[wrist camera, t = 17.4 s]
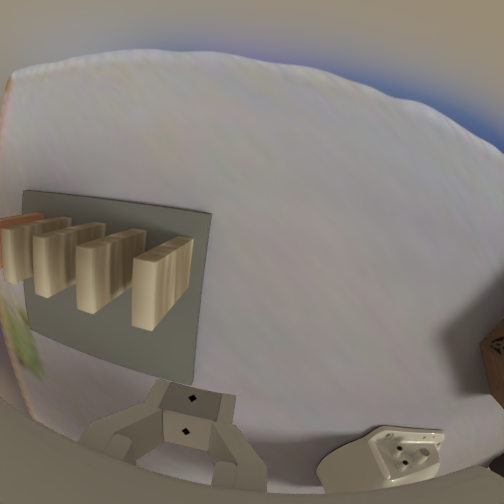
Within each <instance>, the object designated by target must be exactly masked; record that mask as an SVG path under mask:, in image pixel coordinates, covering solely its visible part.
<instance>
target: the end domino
mask: <svg viewBox="0 0 504 504" xmlns="http://www.w3.org/2000/svg"><path fill="white" fill-rule="evenodd" d="M39 220H44V213H37V212H36V213H29V214H23V215H17V216H11V217H5V218H0V269H1V268H3V263H2V244H1V228H5V227H9V226H14V225H19V224H24V223H29V222H34V221H39Z"/></svg>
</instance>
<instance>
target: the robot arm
mask: <svg viewBox="0 0 504 504" xmlns="http://www.w3.org/2000/svg"><path fill="white" fill-rule="evenodd" d="M235 402H236V395H231V394H225V393H223V394H222V393H217V392H212V391H207V390H202V389H197V388H193V387H189V386H185V385H181V384H178V383H174V382H169V381H166V380H162V379H158V380H157V381H156V382H155V384H154V386H153V388H152V390H151V391H150V393H149V395H148V397H147V399H146V401H145V402H144V404H143V403H138V404H136V405H134V406H131V407H129V408H126V409H124V410H122V411H119V412H117V413H114V414H111V415H109V416H106V417H104V418H101V419H99V420H96V421H93V422H91V423H90V425H89V426H88V428H87V429H86V431H85V432H84V433H83V435H82V436H81V438H80V439H79V441H78V442H75V441H73V440H71V439H69V438H67V437H65V436H63V435H62V434H60V433H58V432H56V431H54V430H52V429H50V428H49V427H47V426H45V425H43V424H42V423H40V422H38V421H36V420H35V419H33V418H31V417H30V416H28V415H26V414H25V413H23V412H22V411H20V410H19V409H17V408H16V407H14V406H13V405H11V404H10V403H8V402H7V401H6V400H4V399H3V398H1V397H0V504H504V478H503V477H501V476H500V475H498V474H496V473H494V472H492V471H491V470H489V469H487V468H485V467H482V466H479V465H475V466H471V467H467V468H465V469H462V470H459V471H456V472H452V473H449V474H446V475H442V476H439V477H435V478H434V476H435V475H436V473H437V471H438V469H439V466H440V457H439V454H438V451H439V449H440V448H441V446H442V444H443V441H444V437H445V434H444V432H443V431H442V430H427V429H412V428H401V427H392V426H381V427H378V428H377V429H375V430H373V431H372V432H371V433H369V434H368V435H366V436H365V437H363V438H361V439H359V440H356V441H353V442H351V443H348V444H346V445H344V446H342V447H340V448H338V449H336V450H335V451H333V452H331V453H330V454H329V455H327V456H326V457H325V458H324V459H323V460H322V461H321V462H320V464H319V465H318V467H317V471H316V474H317V477H318V478H319V480H320V482H321V484H322V486H323V488H324V490H325V493H326V494H284V493H267V466H266V465H265V463H264V462H263V461H262V459H261V458H260V457H259V456H258V454H257V453H256V452H255V450H254V449H253V448H252V446H251V445H250V444H249V442H248V441H247V440H246V438H245V437H244V435H243V434H242V433H241V431H240V430H239V429H238V427H237V426H236V425H233V424H232V422H233V415H234V408H235ZM163 441H166V442H170V443H174V444H178V445H183V446H187V447H191V448H195V449H199V450H204V451H208V454H209V456H210V458H211V460H212V462H213V464H214V466H215V469H214V473H213V478H212V483H211V485H206V484H201V483H196V482H192V481H187V480H183V479H179V478H175V477H171V476H167V475H163V474H160V473H156V472H153V471H150V470H146V469H143V468H140V467H137V466H136V461H135V460H137V459H138V458H140V457H141V456H143V455H144V454H146V453H148V452H149V451H151V450H152V449H154V448H155V447H157V446H158V445H159V444H161V443H162V442H163Z"/></svg>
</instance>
